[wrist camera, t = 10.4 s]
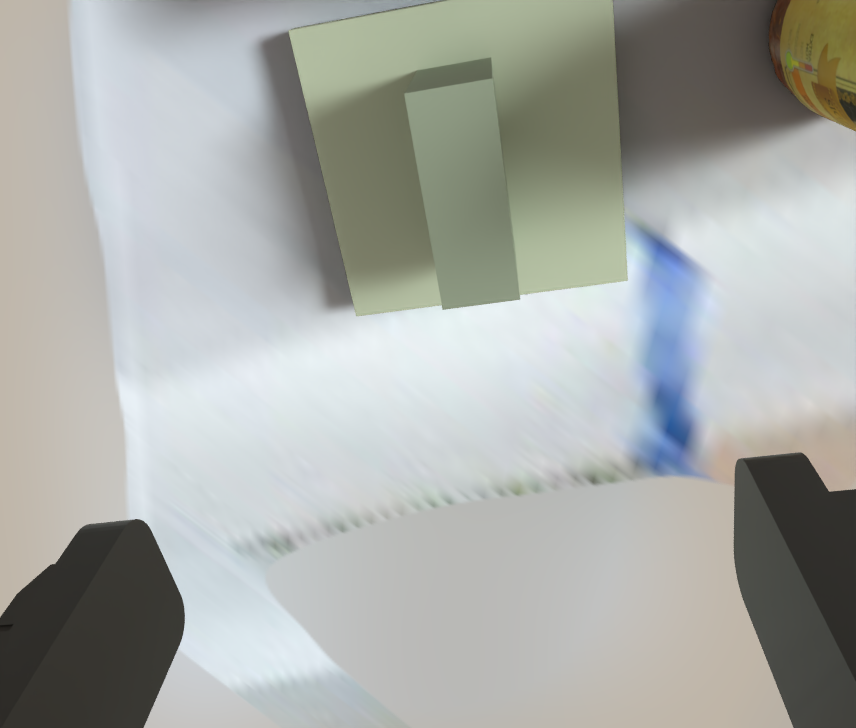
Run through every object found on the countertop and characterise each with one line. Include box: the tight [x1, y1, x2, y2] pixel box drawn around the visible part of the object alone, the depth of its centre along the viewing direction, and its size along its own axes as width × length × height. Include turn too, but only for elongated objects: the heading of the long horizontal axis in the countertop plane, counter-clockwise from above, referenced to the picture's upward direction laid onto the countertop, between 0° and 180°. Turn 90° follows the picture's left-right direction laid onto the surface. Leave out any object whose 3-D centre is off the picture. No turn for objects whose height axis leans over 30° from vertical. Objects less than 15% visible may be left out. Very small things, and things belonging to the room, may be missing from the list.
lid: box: [288, 0, 628, 316], centre depth 27 cm, size 11×11×7 cm
